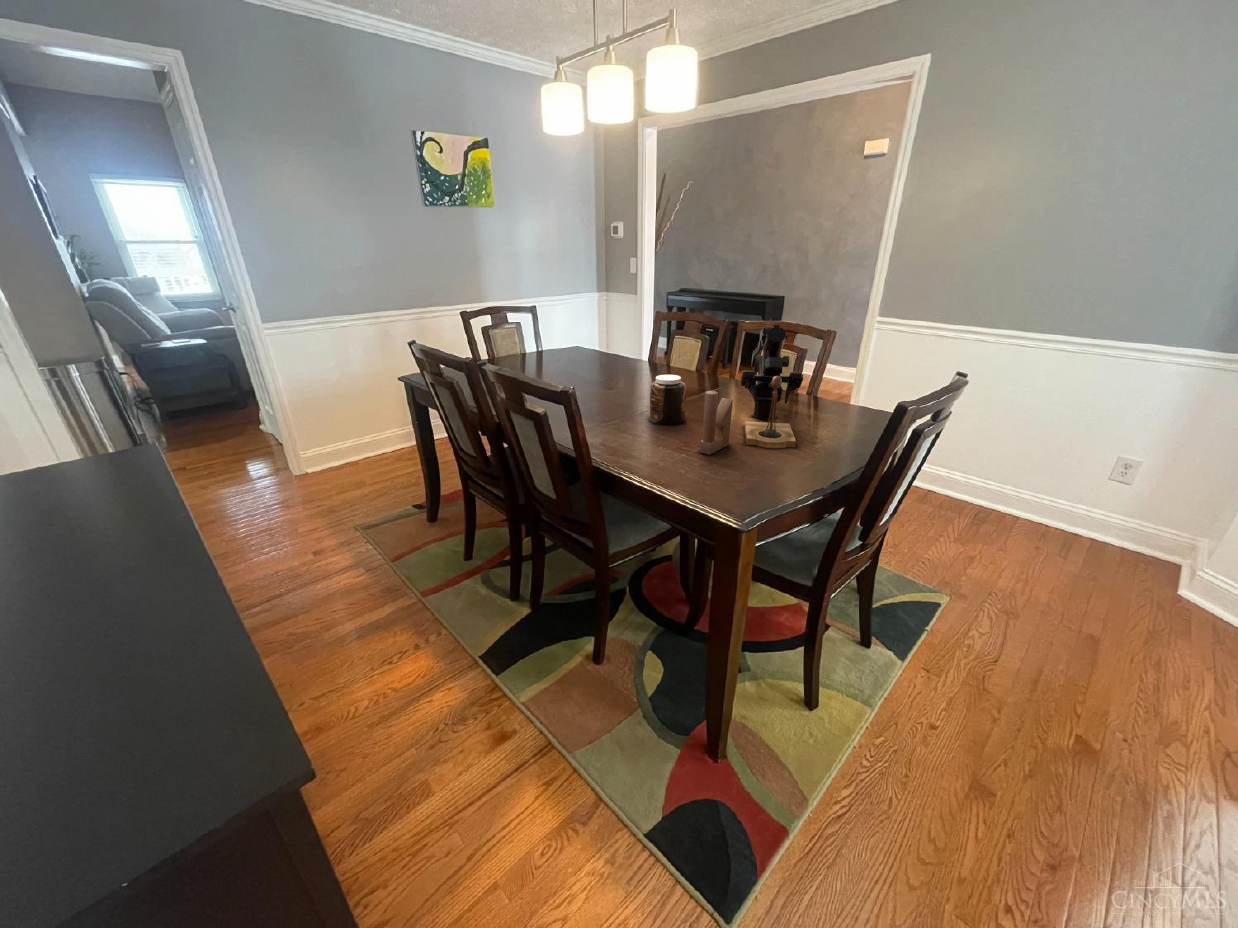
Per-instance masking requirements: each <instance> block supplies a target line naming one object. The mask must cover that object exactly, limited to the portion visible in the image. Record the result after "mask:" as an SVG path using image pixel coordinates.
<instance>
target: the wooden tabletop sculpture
mask: <svg viewBox="0 0 1238 928" xmlns="http://www.w3.org/2000/svg"><path fill="white" fill-rule="evenodd" d="M782 384H783V383H782V379H781V377H780V376H775V377H774V378H773V379H772V381H771V383H769V386H770V387H771V386H772V388H774V391H773V395H772V404H771V411H770V417H769V420H767V423H768V425H767V428H766V430H765V431H764V432H763V434H762V437H765V438H778V435H777V432H776V426H775V423H776V418H777V417H776V415H777V407H776V406H778V405H777V403H778V402H777V397H778V392H777V389H778V388H779V387H780V386H781V387H782ZM775 402H776V403H775ZM774 410H775V413H774ZM770 418H771V419H770ZM769 423H770V428H769V429H768V426H769ZM773 423H774V428H775V430H774V429H773V428H772V427H773Z"/></svg>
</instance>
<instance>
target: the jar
mask: <svg viewBox="0 0 1238 928" xmlns="http://www.w3.org/2000/svg"><path fill="white" fill-rule="evenodd" d="M686 387H687V386H686V383H685V382H683V381H682V376H680V375H676V374H660V375H656V376H655V381H652V382H651V383H650V391H649V420H650V422H651V423H653V424H657V425H663V426H673V425H674V426H675V425H679V424H683V422H685V417H686V398H687V395H686V394H687V388H686Z"/></svg>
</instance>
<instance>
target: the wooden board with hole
mask: <svg viewBox="0 0 1238 928" xmlns="http://www.w3.org/2000/svg"><path fill="white" fill-rule="evenodd" d="M767 425H768V422H761V421H745V422H744V433H745V440H746V445H747V446H757V447H759V448H765V449H784V448H796V444H797V440H796V438H795V435H794V432H793V430H792V429H793V428H792V427H791V424H790V423H782V422H775V426H776V432H777V435H778V438H765V437H762V434H763V432H764V431H765V430H766V428H767ZM769 428H770V422H769V426H768V429H769ZM772 428H773V429H774V430H775V428H774V422H773V427H772Z"/></svg>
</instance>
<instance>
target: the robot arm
mask: <svg viewBox="0 0 1238 928" xmlns="http://www.w3.org/2000/svg"><path fill="white" fill-rule="evenodd" d="M786 340H788V334H787V333H786V330H784V327H783V326H781V325H780V324H773V325H772V326H763V327H762V329H761V330H760V333H759V341H758V345H757V347H756V348H755V349H754V350H753V351H752V357H751V365H750V366H751V368H752V370H743V371H742V372H741V375H740V386H742V387H744V389H747V390H748V392H749V393H750V395H751V397H752V399H753V402H754V409H753V414H751V415H750V416H751V417H752V418H754V419H759V420H762V421H767V422H768V421H769V417H770V411H771V404H772V395H773V391H774V388H772V386H771V387H770V386H769V383H771V381H772V379H773V378H774V377H775V376H780V377H781V379H782V384H783V383H784V384H786V388H785V395H784V404H785V405H787V403H788V400H789V397H790V395H791V393H792V391H796V390H797V389H799V388H801V386H802V384H803V382H804V374H803V373H802V372H796V371H795V372H794V371H790V372H789V374H788V376H787V375H786V376H785V375H784V376H783V375H782V374H783V368H789V366H790V356H789V355H783V356H782V350H783V348H784V345H785V342H786ZM761 351H762V355H761V354H760V353H761ZM756 373H757V374H756ZM783 390H784V389H783V387H782V385H781V386H780V387H779V388H778V389H777V392H778V397H777V403H780V402H781V399H782V395H783ZM775 403H776V402H775ZM777 407H778V405H776V408H777ZM774 413H775V410H774ZM777 417H778V415H777V414H776V417H775V418H777ZM770 420H771V418H770Z"/></svg>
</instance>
